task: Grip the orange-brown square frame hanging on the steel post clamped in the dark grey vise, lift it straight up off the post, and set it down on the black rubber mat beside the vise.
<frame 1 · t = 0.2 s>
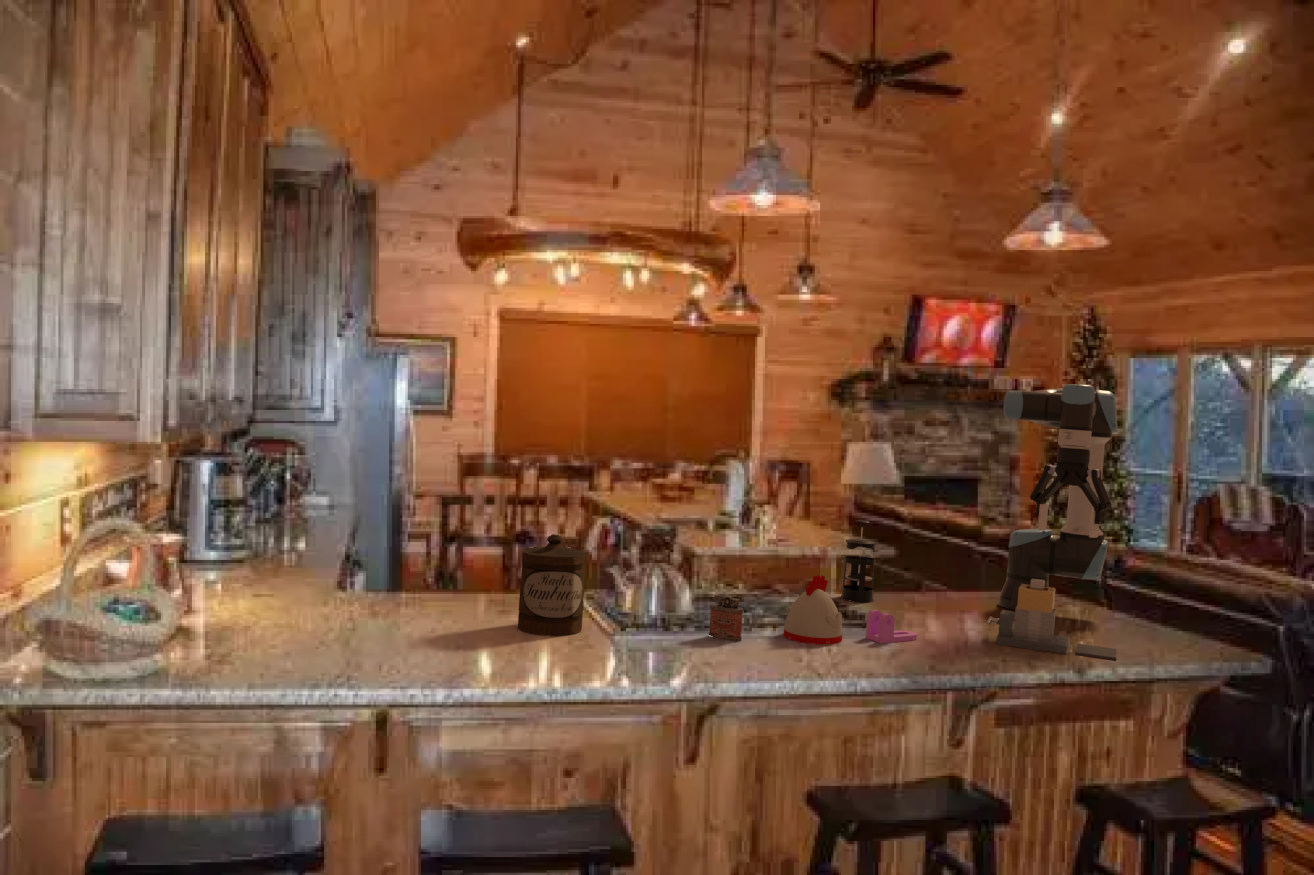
hand: (1067, 533, 269), 28 cm above the countertop, fingers open, 13 cm apart
wooden container: (549, 629, 253), on the countertop
french press: (856, 599, 318), on the countertop
bracket: (893, 640, 266), on the countertop
vise: (1032, 644, 269), on the countertop
lighter: (724, 639, 254), on the countertop
orange-brown square frame: (1035, 608, 269), point 9 cm above the countertop, touching vise
rubber mat: (1096, 652, 264), on the countertop
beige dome: (812, 638, 262), on the countertop
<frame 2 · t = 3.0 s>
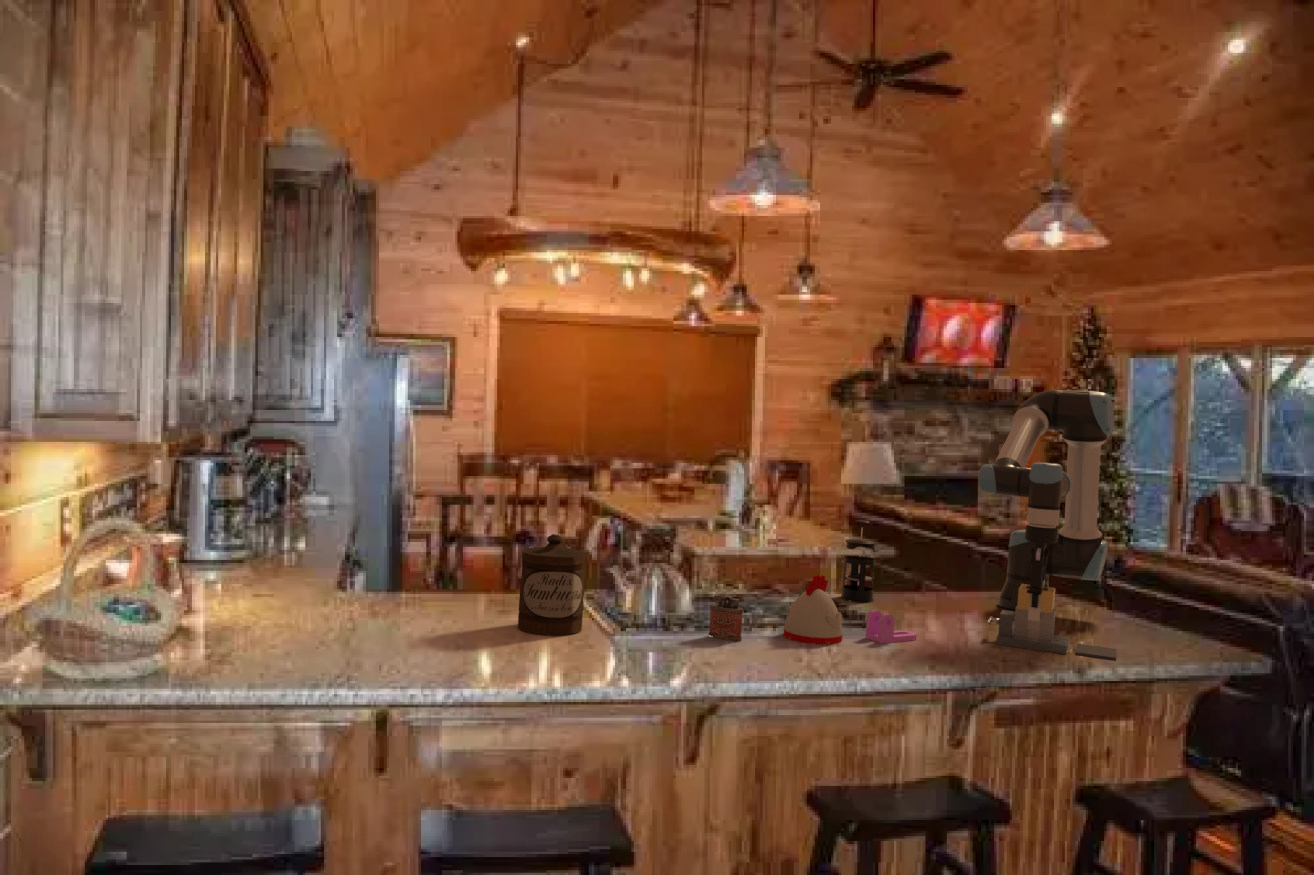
hand: (1034, 617, 269), 7 cm above the countertop, fingers closed on orange-brown square frame, 8 cm apart
orange-brown square frame: (1035, 608, 269), point 9 cm above the countertop, touching gripper, vise
everything else where it was.
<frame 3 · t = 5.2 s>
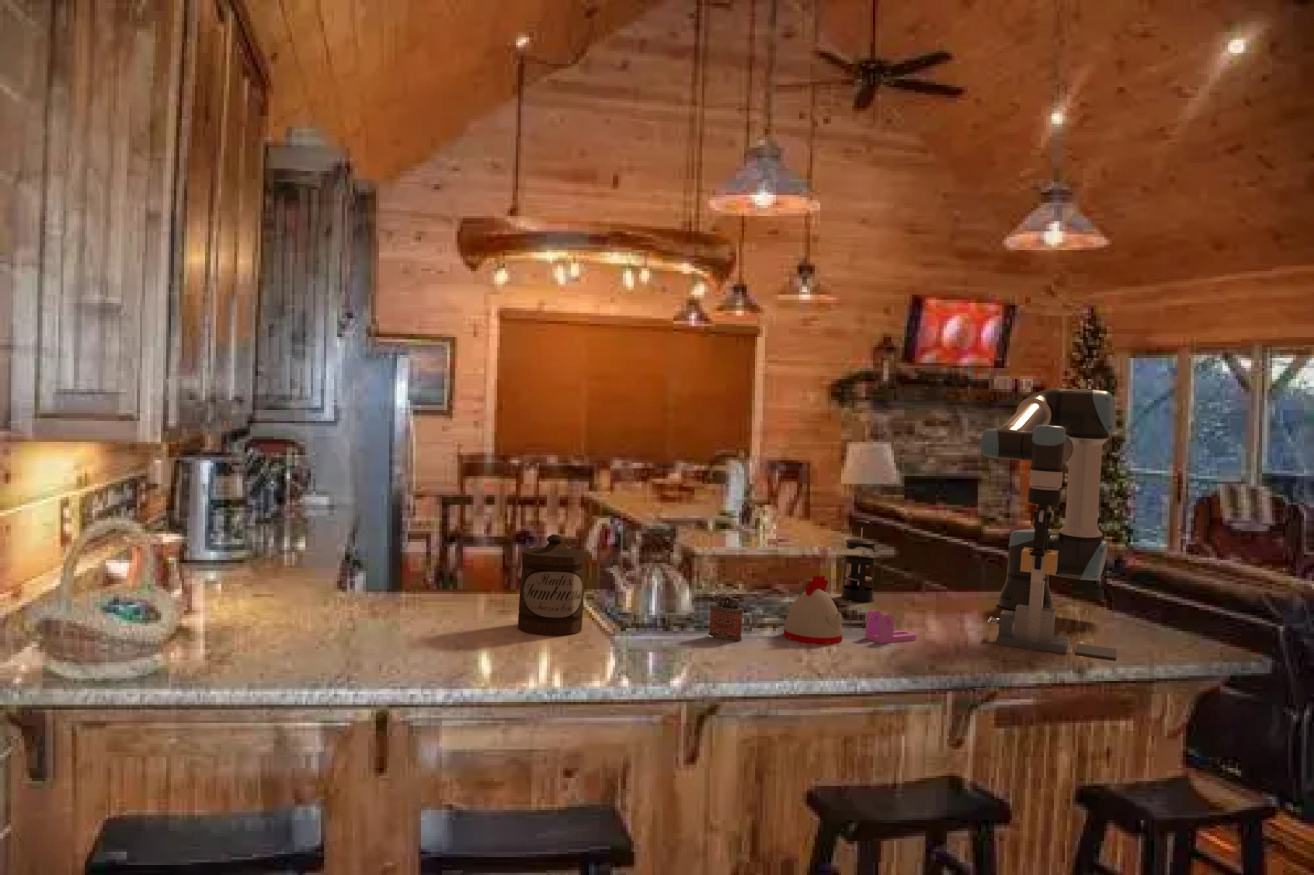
hand: (1038, 580, 269), 16 cm above the countertop, fingers closed on orange-brown square frame, 8 cm apart
orange-brown square frame: (1038, 571, 269), point 18 cm above the countertop, touching gripper
everything else where it was.
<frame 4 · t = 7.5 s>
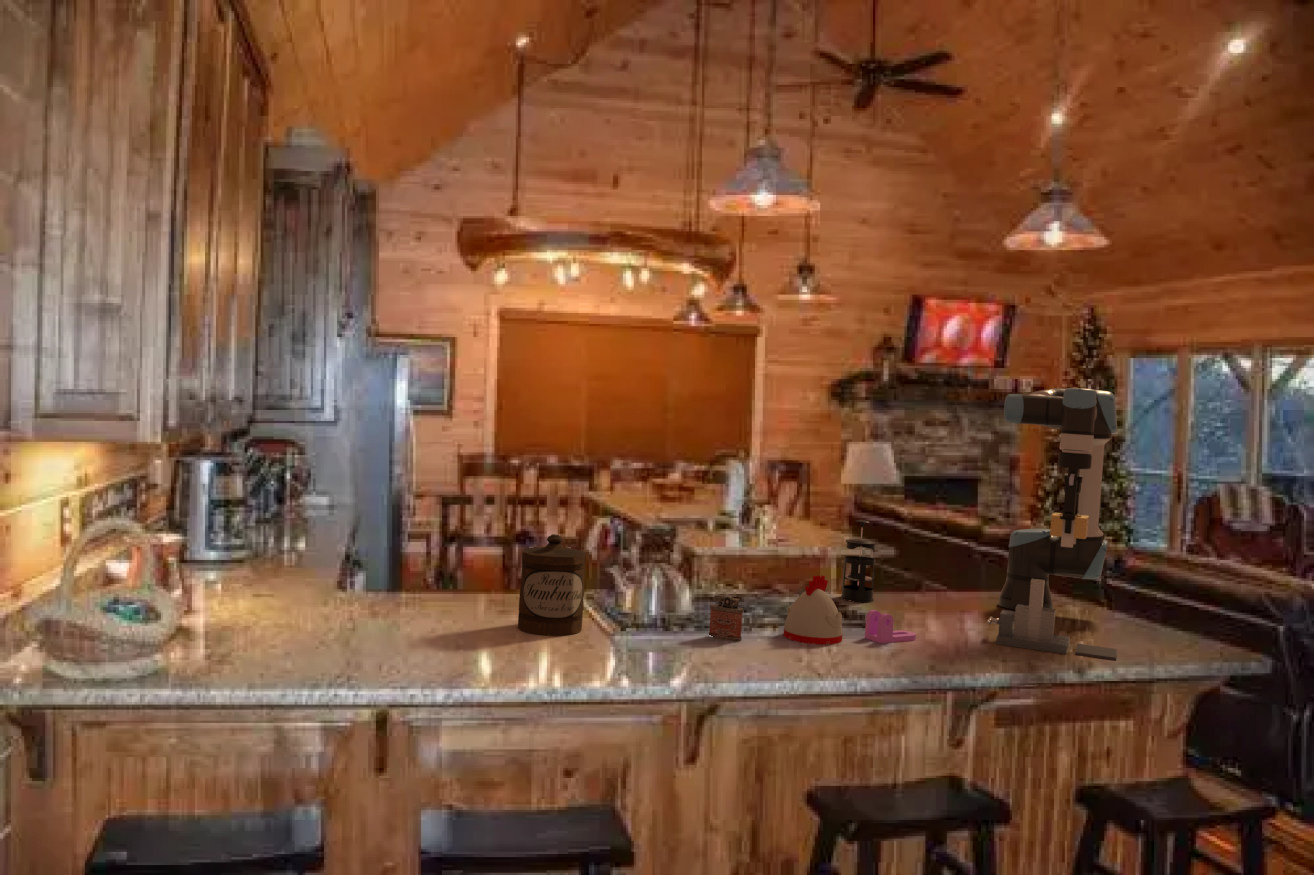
hand: (1068, 545, 266), 25 cm above the countertop, fingers closed on orange-brown square frame, 8 cm apart
orange-brown square frame: (1068, 535, 266), point 28 cm above the countertop, touching gripper
everything else where it was.
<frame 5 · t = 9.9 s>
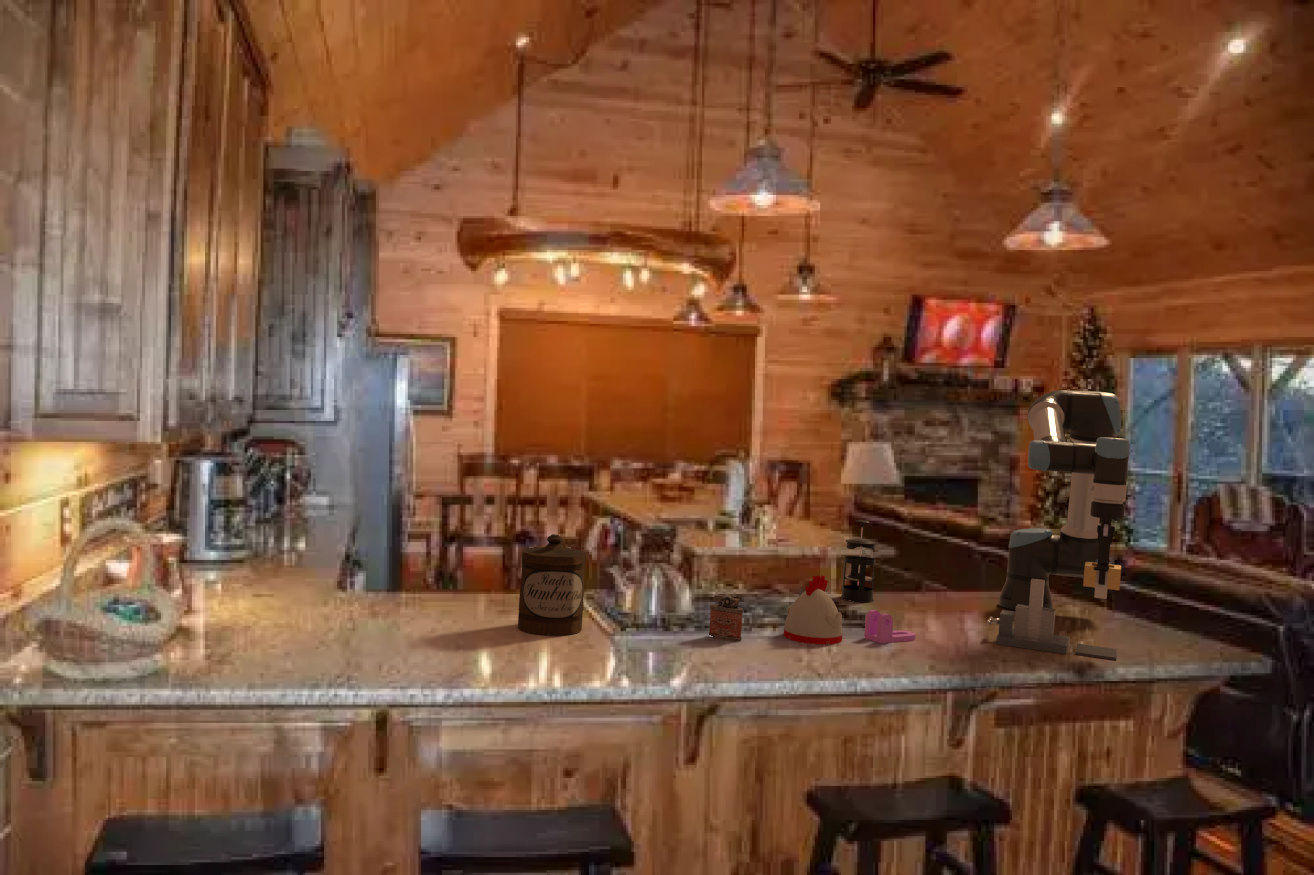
hand: (1100, 595, 264), 14 cm above the countertop, fingers closed on orange-brown square frame, 8 cm apart
orange-brown square frame: (1101, 586, 263), point 16 cm above the countertop, touching gripper
everything else where it was.
when the fingers open (2 cm above the countertop, at t = 12.2 s): orange-brown square frame drops 3 cm, resting on rubber mat.
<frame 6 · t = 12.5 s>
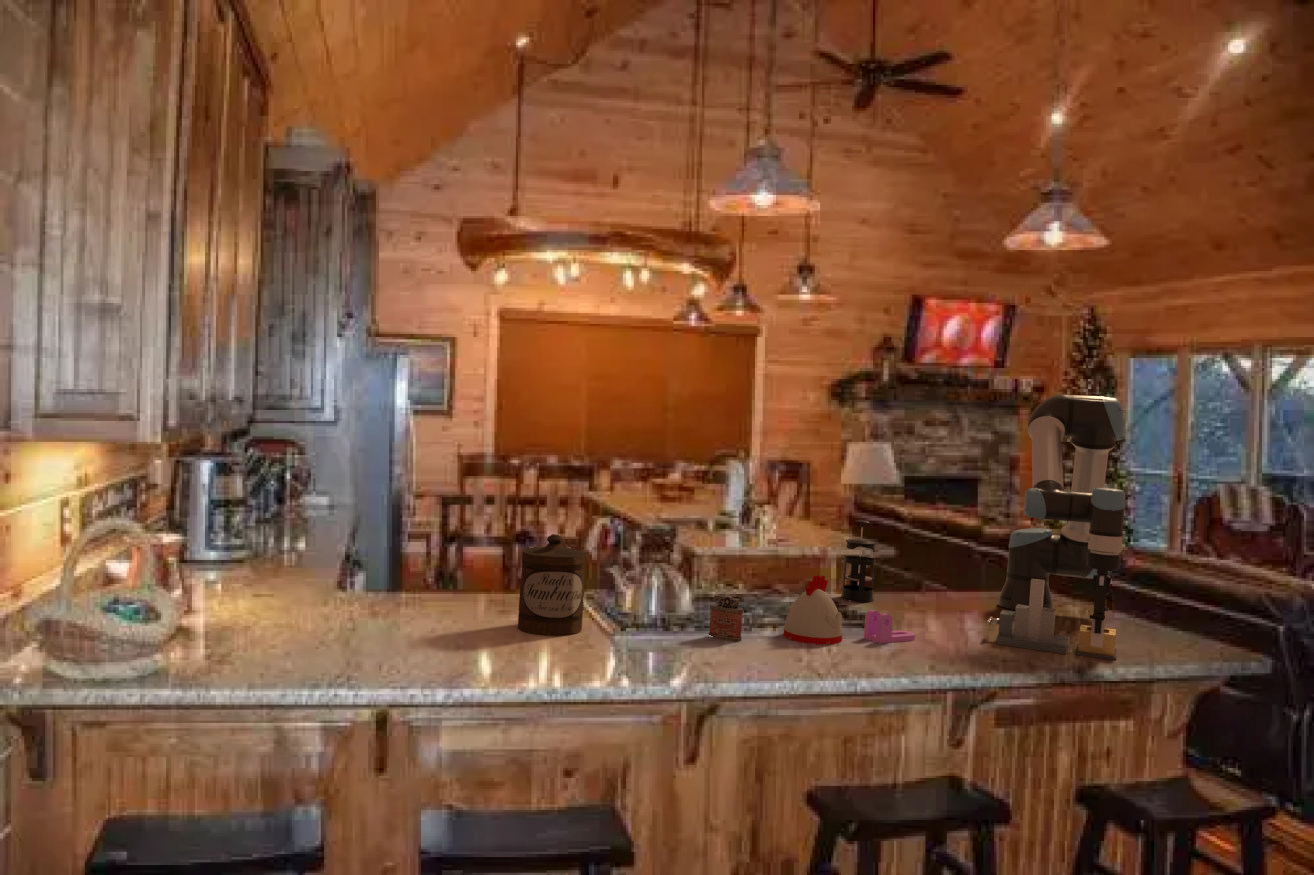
hand: (1096, 641, 264), 3 cm above the countertop, fingers open, 11 cm apart
orange-brown square frame: (1096, 650, 264), point 1 cm above the countertop, touching rubber mat
everything else where it was.
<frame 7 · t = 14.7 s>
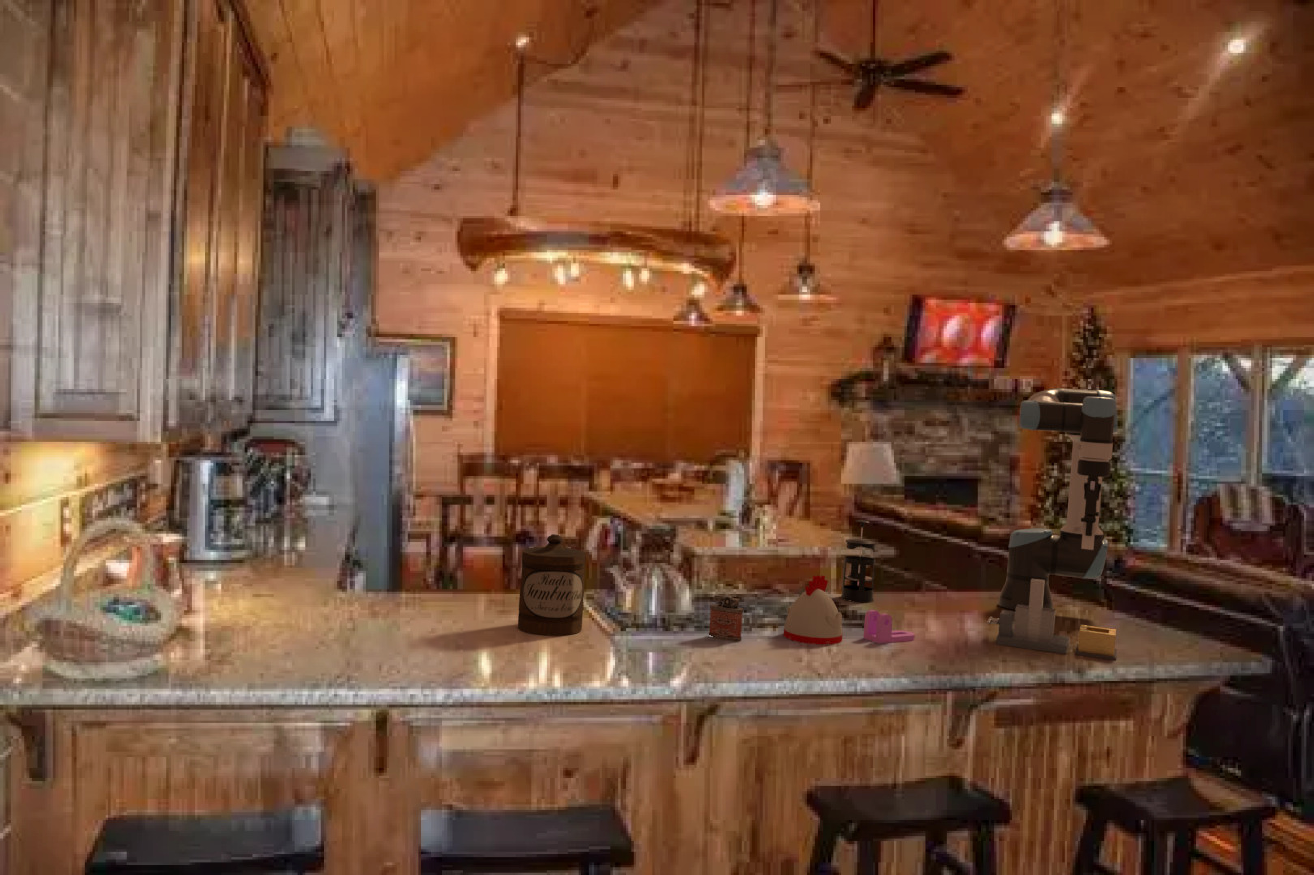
hand: (1087, 545, 270), 25 cm above the countertop, fingers open, 13 cm apart
nothing on the countertop moved.
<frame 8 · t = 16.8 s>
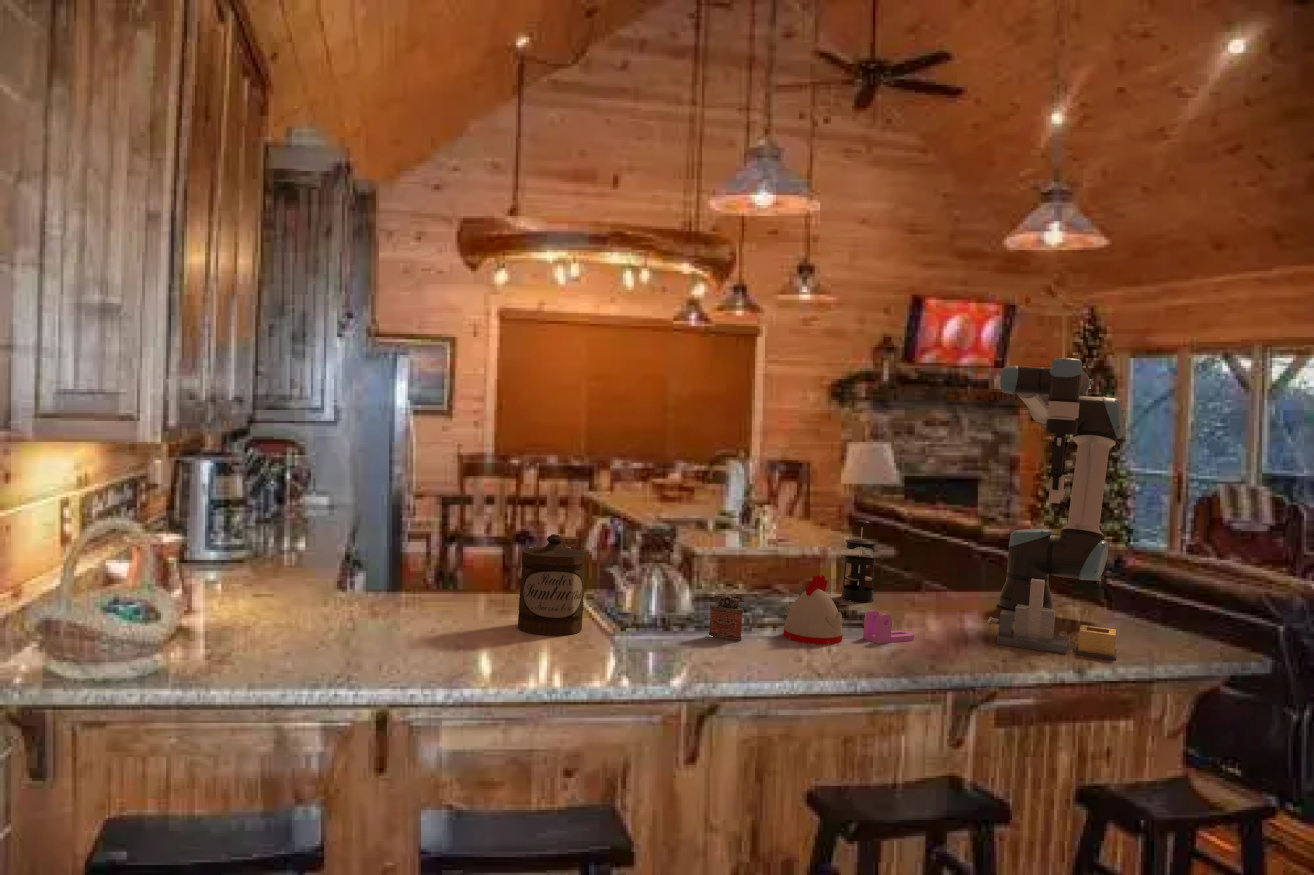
hand: (1055, 501, 281), 35 cm above the countertop, fingers open, 13 cm apart
nothing on the countertop moved.
at the end: orange-brown square frame inside the target area on the rubber mat (0.0 cm from its centre), point 0.6 cm above the rubber mat's base; orange-brown square frame tilted 0°; orange-brown square frame touching rubber mat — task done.
